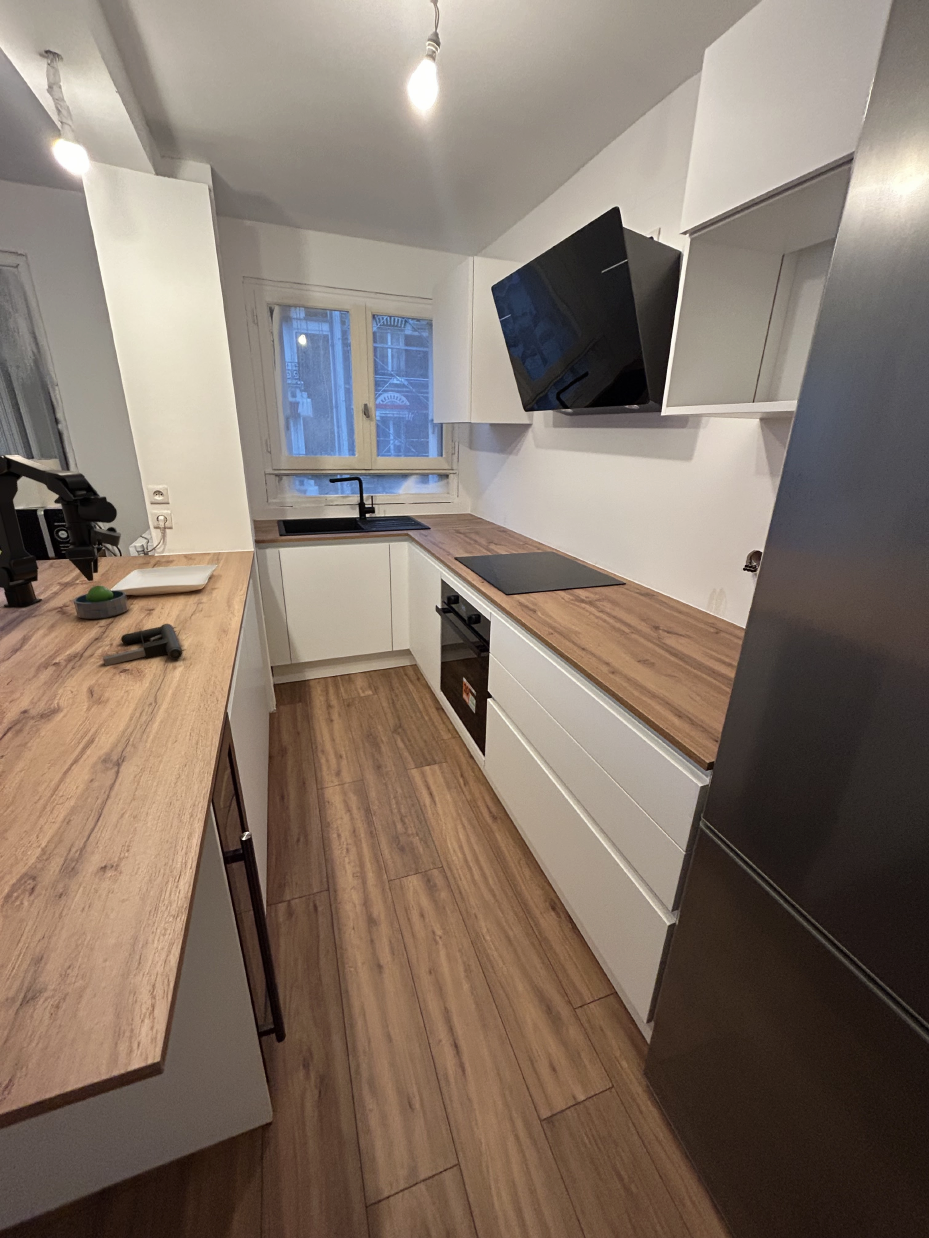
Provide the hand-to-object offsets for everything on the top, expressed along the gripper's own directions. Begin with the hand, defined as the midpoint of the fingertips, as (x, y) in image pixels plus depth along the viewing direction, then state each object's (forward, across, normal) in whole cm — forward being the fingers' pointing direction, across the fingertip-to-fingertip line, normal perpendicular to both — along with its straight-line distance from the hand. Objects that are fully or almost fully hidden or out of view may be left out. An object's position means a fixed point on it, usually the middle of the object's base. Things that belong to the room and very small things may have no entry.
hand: (93, 576), depth 136 cm
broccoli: (+10, 0, 0) cm, 10 cm away
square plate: (+11, +23, -17) cm, 30 cm away
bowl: (+11, 0, 0) cm, 11 cm away
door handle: (+11, -37, -12) cm, 40 cm away
